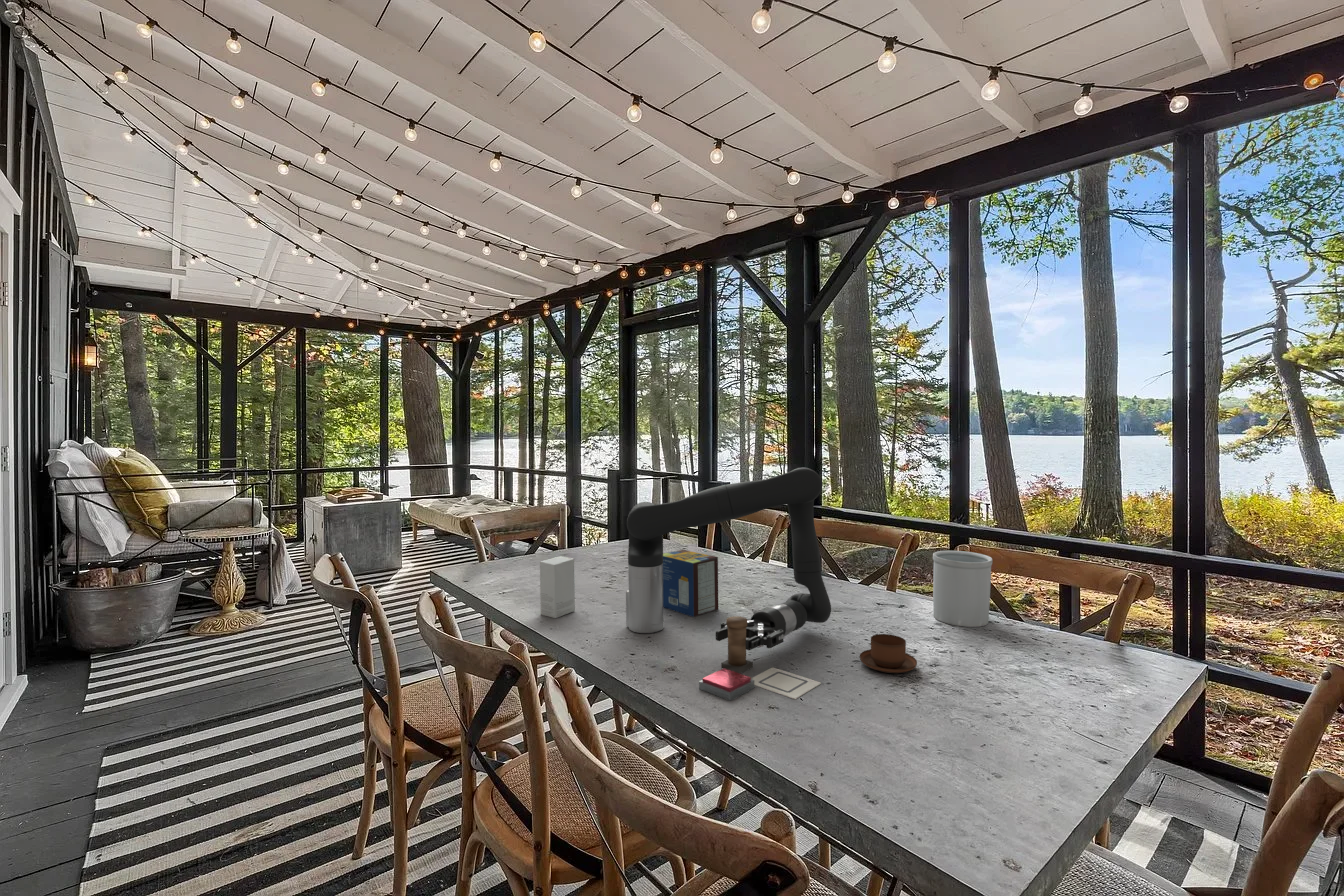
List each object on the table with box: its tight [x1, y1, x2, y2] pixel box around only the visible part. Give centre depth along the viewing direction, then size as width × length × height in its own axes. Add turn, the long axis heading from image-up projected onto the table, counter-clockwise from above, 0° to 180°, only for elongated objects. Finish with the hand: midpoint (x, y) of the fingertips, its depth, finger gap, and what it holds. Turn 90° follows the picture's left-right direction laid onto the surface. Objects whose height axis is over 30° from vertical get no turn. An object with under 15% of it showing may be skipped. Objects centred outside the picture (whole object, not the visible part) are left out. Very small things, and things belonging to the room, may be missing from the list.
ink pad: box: [698, 668, 755, 702], centre depth 125 cm, size 8×8×2 cm
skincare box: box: [539, 555, 576, 619], centre depth 176 cm, size 8×7×16 cm
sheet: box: [751, 667, 822, 700], centre depth 128 cm, size 12×10×1 cm
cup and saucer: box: [859, 633, 918, 674], centre depth 136 cm, size 12×12×6 cm
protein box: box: [663, 549, 719, 618], centre depth 181 cm, size 10×15×16 cm
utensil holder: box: [932, 550, 993, 628], centre depth 168 cm, size 15×15×18 cm
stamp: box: [720, 615, 754, 674], centre depth 136 cm, size 5×5×11 cm
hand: (731, 640), depth 134 cm, fingers open, 8 cm apart
